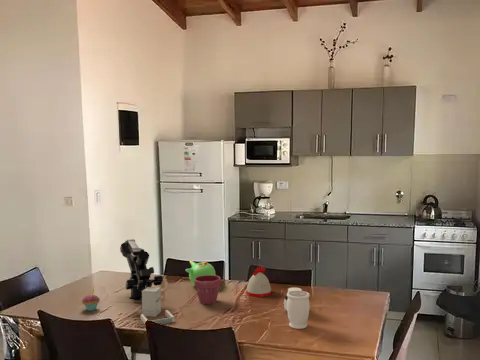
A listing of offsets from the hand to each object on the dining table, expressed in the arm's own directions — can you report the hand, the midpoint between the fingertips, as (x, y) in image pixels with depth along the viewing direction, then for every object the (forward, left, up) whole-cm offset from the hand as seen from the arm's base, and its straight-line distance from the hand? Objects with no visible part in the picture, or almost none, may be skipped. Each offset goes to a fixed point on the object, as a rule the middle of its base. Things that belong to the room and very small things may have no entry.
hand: (147, 296), depth 237 cm
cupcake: (-27, -11, -7) cm, 30 cm away
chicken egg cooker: (+41, +49, -7) cm, 64 cm away
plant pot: (+22, +24, -7) cm, 33 cm away
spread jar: (+69, +29, -7) cm, 75 cm away
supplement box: (+6, -4, -7) cm, 10 cm away
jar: (+77, +11, -7) cm, 78 cm away
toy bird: (+4, +48, -7) cm, 48 cm away
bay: (+13, -11, -7) cm, 18 cm away
